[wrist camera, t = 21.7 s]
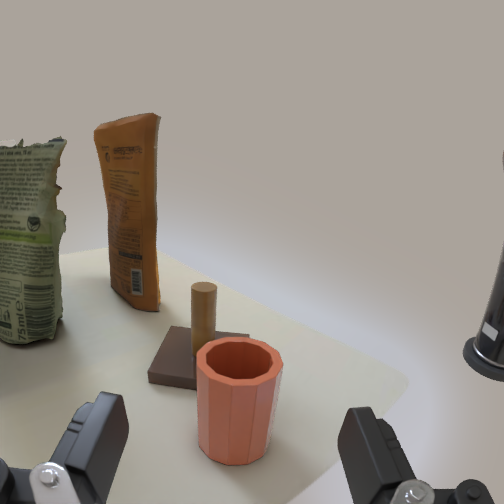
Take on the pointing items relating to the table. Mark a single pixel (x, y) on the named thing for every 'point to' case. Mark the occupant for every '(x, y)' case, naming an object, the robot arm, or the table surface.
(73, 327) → the table surface
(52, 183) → the pouch
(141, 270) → the pancake mix bag
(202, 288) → the ring stand
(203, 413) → the faceted terracotta cup
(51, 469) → the robot arm
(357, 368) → the table surface
